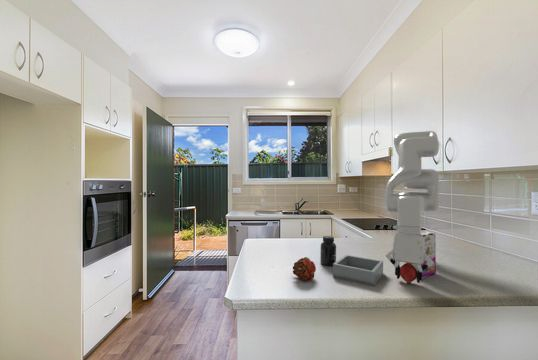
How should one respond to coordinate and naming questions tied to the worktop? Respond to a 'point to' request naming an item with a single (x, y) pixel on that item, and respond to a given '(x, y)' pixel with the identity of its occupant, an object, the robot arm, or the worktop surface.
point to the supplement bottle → (328, 251)
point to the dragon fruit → (304, 268)
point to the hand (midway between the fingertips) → (408, 279)
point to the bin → (358, 269)
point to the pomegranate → (408, 272)
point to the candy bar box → (429, 253)
